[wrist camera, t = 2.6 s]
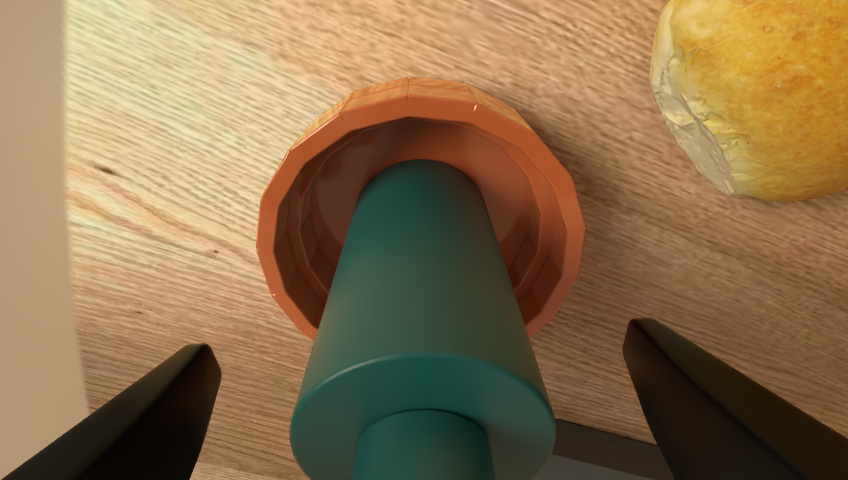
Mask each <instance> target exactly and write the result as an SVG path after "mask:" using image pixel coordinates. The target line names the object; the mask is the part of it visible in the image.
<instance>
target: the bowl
mask: <svg viewBox="0 0 848 480" xmlns="http://www.w3.org/2000/svg"><path fill="white" fill-rule="evenodd" d="M414 159H428V160H435V161H439V162H443V163H446V164H449V165H451V166H453V167H455V168H457V169H459V170H460V171H462V172H463V173H464V174H466V175H467V176H468V177H469V178H470V179H471V180H472V181H473V182H474V183H475V184H476V186H477V187H478V188H479V190H480V192H481V194H482V196H483V198H484V201H485V204H486V207H487V210H488V213H489V216H490V219H491V222H492V225H493V229H494V232H495V235H496V238H497V241H498V244H499V247H500V250H501V253H502V256H503V259H504V262H505V266H506V269H507V272H508V275H509V278H510V281H511V284H512V287H513V290H514V293H515V296H516V300H517V303H518V306H519V309H520V312H521V315H522V318H523V321H524V324H525V327H526V330H527V333H528V337H529V338H530V337H532V336H533V335H534V334H535V333H536V332H537V331H538V330H540V329H541V328H542V327H543V326H544V325H545V324H547V323H548V322H549V321H550V320H551V319H552V318H553V317H554V316H555V315H556V313H557V312H558V310H559V308H560V306H561V305H562V303H563V301H564V300H565V298H566V296H567V295H568V293H569V291H570V290H571V288H572V286H573V284H574V283H575V281H576V279H577V277H578V275H579V268H580V262H581V256H582V249H583V243H584V236H585V222H584V219H583V215H582V211H581V208H580V204H579V200H578V197H577V193H576V189H575V186H574V182H573V179H572V178H571V175H570V174H569V173H568V172H567V170H566V169H565V168H564V167H563V166H562V164H561V163H560V162H559V161H558V159H557V158H556V157H555V156H554V155H553V153H552V152H551V151H550V150H549V149H548V147H547V146H546V145H545V144H544V143H543V141H542V140H541V139H540V138H539V136H538V135H537V134H536V133H535V132H534V131H533V129H532V128H531V127H530V126H529V125H528V124H527V122H526V121H525V120H524V119H523V118H522V117H521V115H520V114H519V113H518V112H517V111H516V110H514V108H513V107H511V106H509V105H507V104H505V103H503V102H501V101H500V100H498V99H496V98H494V97H492V96H490V95H488V94H486V93H485V92H483V91H481V90H479V89H477V88H475V87H473V86H471V85H470V84H465V83H463V82H454V81H445V80H436V79H427V78H418V77H410V79H409V78H408V77H405V78H401V79H398V80H394V81H390V82H386V83H382V84H379V85H375V86H371V87H367V88H364V89H360V90H357V91H356V92H355V93H354V92H353V93H351V94H349V95H348V96H347V97H345V98H344V99H343V100H341V101H340V102H339V103H337V104H336V105H335V106H333V107H332V108H331V109H329V110H328V111H327V112H325V113H324V114H323V115H321V116H320V117H319V118H317V119H316V120H314V121H313V122H312V124H310V125H309V127H308V128H307V129H306V130H305V131H304V133H303V134H302V135H301V136H300V137H299V138H298V140H297V141H296V142H295V143H294V144H293V146H292V147H291V148H290V149H289V150H288V152H287V153H286V155H285V157H284V159H283V160H282V162H281V164H280V165H279V167H278V169H277V171H276V172H275V174H274V176H273V178H272V179H271V181H270V183H269V184H268V186H267V188H266V190H265V191H264V193H263V195H262V198H261V201H260V211H259V221H258V232H257V242H256V249H257V254H258V257H259V260H260V263H261V266H262V269H263V272H264V275H265V278H266V281H267V285H268V288H269V291H270V293H271V294H272V297H273V298H274V299H275V301H276V302H277V303H278V304H279V306H280V307H281V308H282V309H283V311H284V312H285V313H286V314H287V316H288V317H289V318H290V319H291V321H292V322H293V323H294V324H295V326H296V327H297V328H298V329H299V330H300V331H301V332H302V333H303V334H305V335H306V336H308V337H309V338H311V339H312V340H314V341H315V339H316V335H317V332H318V329H319V325H320V322H321V319H322V315H323V312H324V309H325V305H326V302H327V299H328V295H329V292H330V289H331V286H332V282H333V279H334V276H335V272H336V269H337V266H338V262H339V259H340V256H341V252H342V249H343V246H344V242H345V239H346V236H347V232H348V229H349V226H350V222H351V219H352V216H353V212H354V209H355V206H356V203H357V200H358V197H359V195H360V193H361V191H362V189H363V188H364V187H365V185H366V184H367V183H368V182H369V181H370V180H371V179H372V178H373V177H374V176H375V175H376V174H377V173H379V172H380V171H381V170H383V169H385V168H387V167H388V166H391V165H393V164H396V163H399V162H402V161H406V160H414Z"/></svg>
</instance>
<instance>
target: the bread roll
mask: <svg viewBox="0 0 848 480" xmlns="http://www.w3.org/2000/svg"><path fill="white" fill-rule="evenodd" d="M649 83H650V86H651V89H652V91H653V94H654V97H655V99H656V101H657V104H658V106H659V108H660V110H661V112H662V115H663V118H664V121H665V124H666V125H667V127H668V129H669V130H670V132H671V134H672V135H673V136H674V137H675V138H676V140H677V142H678V144H679V146H680V147H681V148H682V149H683V150H684V152H685V153H686V155H687V156H688V157H689V159H690V160H691V161H692V162H693V163H694V165H695V167H696V168H697V170H698V172H699V173H700V174H701V175H702V176H704V177H705V178H706V179H707V180H708V181H709V182H711V183H712V184H713V185H714V187H715V188H716V189H717V190H719V191H721V192H723V193H724V194H726V195H728V196H733V195H748V196H752V197H755V198H759V199H763V200H770V201H778V202H780V201H799V200H806V199H813V198H818V197H822V196H826V195H830V194H834V193H836V192H840V191H843V190H845V189H848V0H668V2H667V3H666V5H665V7H664V9H663V11H662V13H661V16H660V18H659V21H658V25H657V29H656V33H655V37H654V41H653V47H652V57H651V67H650V75H649Z"/></svg>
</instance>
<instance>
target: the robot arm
mask: <svg viewBox="0 0 848 480" xmlns="http://www.w3.org/2000/svg"><path fill="white" fill-rule="evenodd" d="M623 357H624V360H625V362H626V365H627V368H628V371H629V374H630V376H631V379H632V382H633V385H634V387H635V390H636V393H637V396H638V398H639V401H640V404H641V407H642V410H643V412H644V415H645V418H646V420H647V423H648V425H649V428H650V430H651V432H652V434H653V436H654V438H655V440H656V443H657V445H658V447H659V449H660V451H661V453H662V455H663V457H664V459H665V461H666V463H667V465H668V467H669V469H670V471H671V473H672V475H673V477H674V480H848V439H847V438H846V437H844V436H842V435H841V434H839V433H838V432H836V431H834V430H833V429H831V428H829V427H828V426H826V425H825V424H823V423H821V422H820V421H818V420H817V419H815V418H813V417H812V416H810V415H808V414H807V413H805V412H804V411H802V410H800V409H799V408H797V407H796V406H794V405H792V404H791V403H789V402H787V401H786V400H784V399H783V398H781V397H779V396H778V395H776V394H775V393H773V392H771V391H770V390H768V389H766V388H765V387H763V386H762V385H760V384H758V383H757V382H755V381H754V380H752V379H750V378H749V377H747V376H745V375H744V374H742V373H741V372H739V371H737V370H736V369H734V368H733V367H731V366H729V365H728V364H726V363H724V362H723V361H721V360H720V359H718V358H716V357H715V356H713V355H712V354H710V353H708V352H707V351H705V350H703V349H702V348H700V347H699V346H697V345H695V344H694V343H692V342H691V341H689V340H687V339H686V338H684V337H682V336H681V335H679V334H678V333H676V332H674V331H673V330H671V329H670V328H668V327H666V326H665V325H663V324H661V323H660V322H658V321H657V320H655V319H653V318H634V319H631V320H630V322H629V324H628V327H627V331H626V335H625V339H624V343H623ZM220 382H221V369H220V366H219V364H218V362H217V360H216V358H215V355H214V353H213V351H212V349H211V347H210V346H209V345H208V344H205V343H202V344H189V345H186V346H185V347H183V348H182V349H180V350H179V351H178V352H176V353H175V354H173V355H172V356H171V357H169V358H168V359H167V360H165V361H164V362H162V363H161V364H160V365H158V366H157V367H156V368H154V369H153V370H151V371H150V372H149V373H147V374H146V375H145V376H143V377H142V378H140V379H139V380H138V381H136V382H135V383H134V384H132V385H131V386H129V387H128V388H127V389H125V390H124V391H123V392H121V393H120V394H118V395H117V396H116V397H114V398H113V399H112V400H110V401H109V402H107V403H106V404H105V405H103V406H102V407H101V408H99V409H98V410H96V411H95V412H94V413H92V414H91V415H90V416H88V417H87V418H85V419H84V420H83V421H81V422H80V423H78V424H77V425H76V426H74V427H73V428H72V429H70V430H69V431H67V432H66V433H65V434H63V435H62V436H61V437H59V438H58V439H56V440H55V441H54V442H52V443H51V444H50V445H48V446H47V447H45V448H44V449H43V450H41V451H40V452H39V453H37V454H36V455H34V456H33V457H32V458H31V459H29V460H28V461H26V462H25V463H23V464H22V465H21V466H19V467H18V468H17V469H15V470H14V471H12V472H11V473H10V474H8V475H7V476H6V477H4V478H3V479H2V480H190V477H191V475H192V472H193V469H194V467H195V464H196V462H197V459H198V457H199V454H200V451H201V448H202V445H203V442H204V439H205V435H206V432H207V428H208V425H209V421H210V418H211V414H212V411H213V407H214V403H215V400H216V396H217V393H218V389H219V386H220Z"/></svg>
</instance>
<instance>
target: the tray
mask: <svg viewBox="0 0 848 480" xmlns="http://www.w3.org/2000/svg"><path fill="white" fill-rule="evenodd" d="M555 423H556V438H555V444H554V448H553V451H552V454H551V456H550V458H549V460H548V462H547V463H546V465H545V466H544V467H543V469H542V470H541V471H540V472H539V473H538V475H537V476H536V477H535V478H534V479H533V480H674V477H673V475H672V473H671V471H670V469H669V467H668V465H667V463H666V461H665V459H664V457H663V455H662V453H661V451H660V449H659V447H658V446H654V445H650V444H647V443H643V442H639V441H635V440H632V439H628V438H624V437H621V436H617V435H613V434H609V433H606V432H602V431H598V430H594V429H591V428H587V427H583V426H580V425H576V424H572V423H568V422H565V421H561V420H557V419H555Z"/></svg>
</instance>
